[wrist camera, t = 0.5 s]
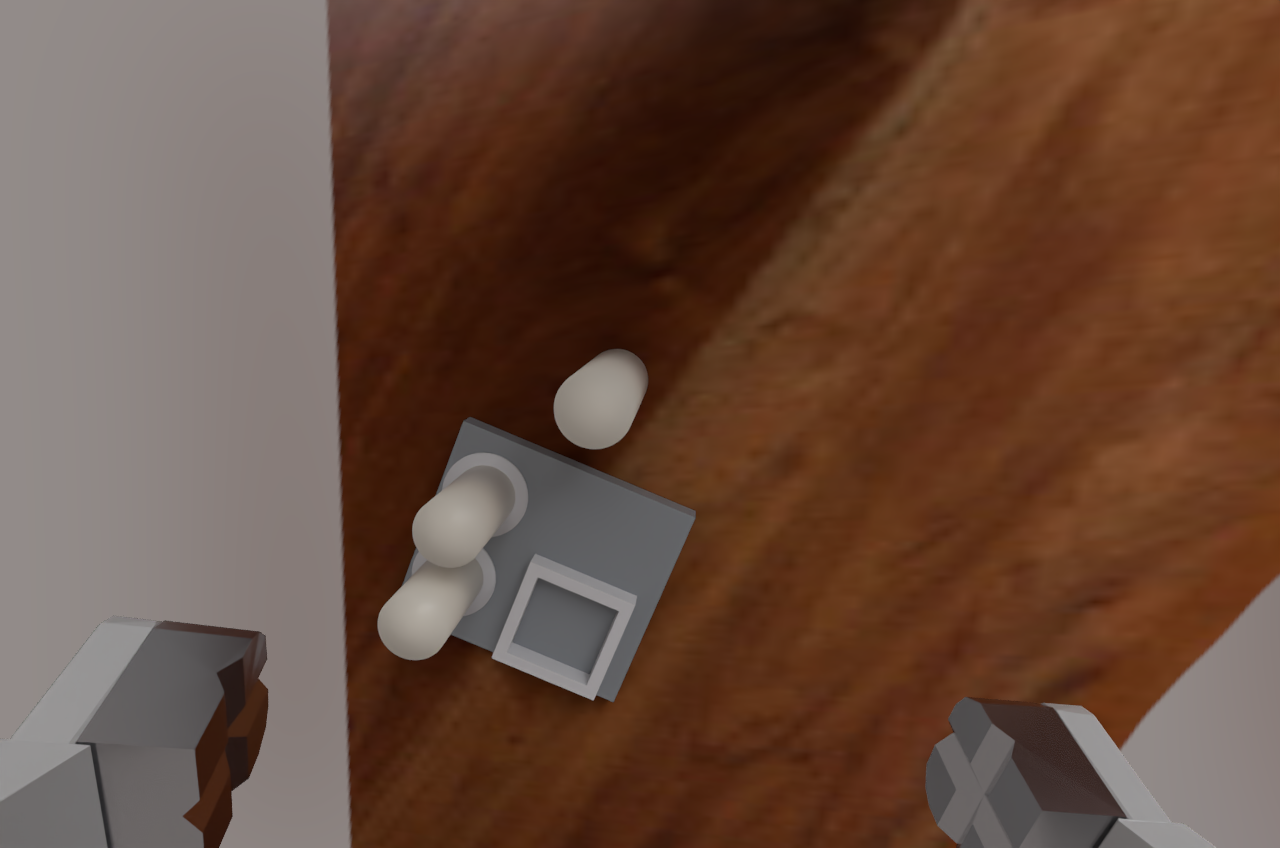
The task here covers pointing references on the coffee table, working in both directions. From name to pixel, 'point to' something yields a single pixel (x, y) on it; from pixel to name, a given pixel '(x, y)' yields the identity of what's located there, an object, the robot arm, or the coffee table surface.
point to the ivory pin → (601, 399)
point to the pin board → (535, 563)
